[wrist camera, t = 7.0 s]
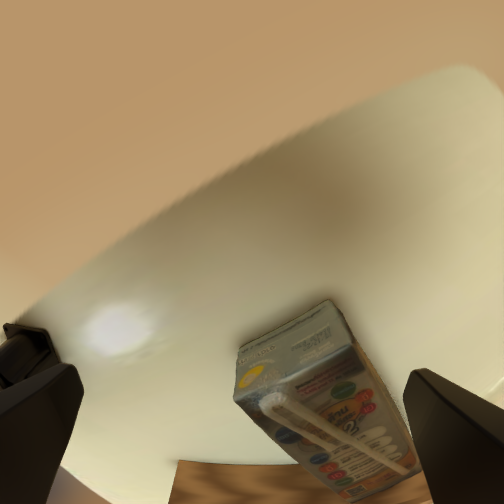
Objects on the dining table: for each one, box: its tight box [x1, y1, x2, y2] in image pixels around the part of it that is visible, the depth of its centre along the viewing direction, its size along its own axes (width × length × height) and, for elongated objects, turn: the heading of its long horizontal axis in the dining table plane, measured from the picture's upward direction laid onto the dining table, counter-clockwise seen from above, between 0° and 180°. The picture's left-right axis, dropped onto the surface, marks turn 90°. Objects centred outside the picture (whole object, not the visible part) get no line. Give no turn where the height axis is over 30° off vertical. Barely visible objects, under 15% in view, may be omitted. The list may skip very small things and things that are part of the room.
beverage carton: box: [233, 300, 423, 504], centre depth 19 cm, size 8×19×7 cm, turn 33°
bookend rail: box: [168, 460, 433, 504], centre depth 22 cm, size 26×2×8 cm, turn 92°
